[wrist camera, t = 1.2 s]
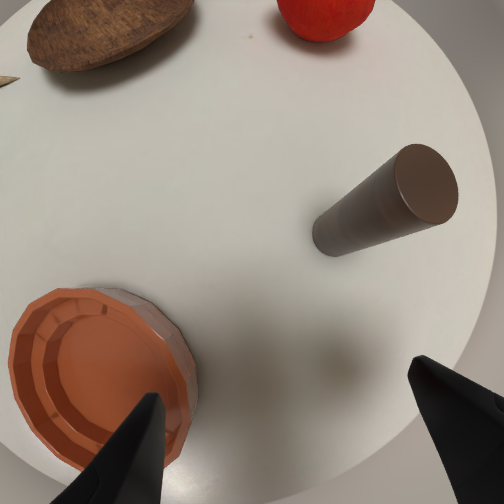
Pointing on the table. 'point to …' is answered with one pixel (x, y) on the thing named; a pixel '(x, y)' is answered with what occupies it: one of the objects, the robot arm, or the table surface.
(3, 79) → the ice cream cone
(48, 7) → the bowl
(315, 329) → the table surface
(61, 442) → the mixing bowl
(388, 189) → the brown tall cylinder
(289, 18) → the apple
